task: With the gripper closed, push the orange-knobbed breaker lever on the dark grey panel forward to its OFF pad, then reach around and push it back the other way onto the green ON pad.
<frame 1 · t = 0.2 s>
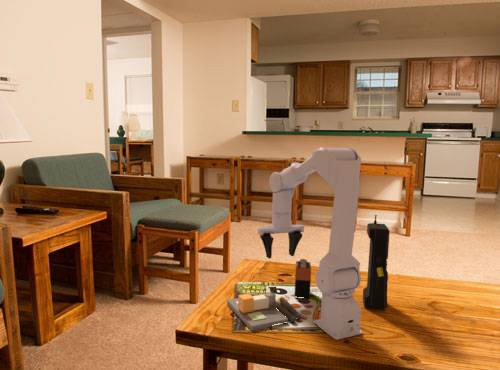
hand: (280, 256, 120), 10 cm above the table, tool pointing down, fingers open, 7 cm apart
near cord: (279, 310, 105), on the table
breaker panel: (256, 313, 103), on the table
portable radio: (374, 306, 110), on the table
battery: (302, 295, 116), on the table
dark grey rounded rod: (289, 310, 105), on the table
breaker lever: (258, 301, 103), point 3 cm above the table, hinge at 0.0°
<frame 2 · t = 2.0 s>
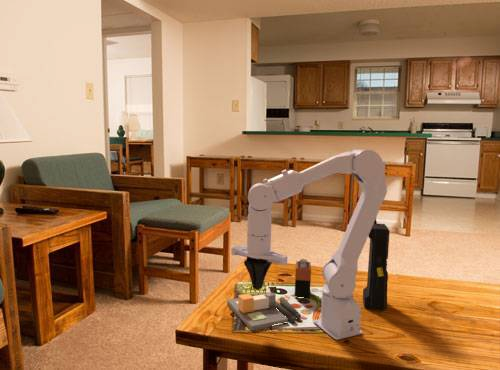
hand: (257, 288, 96), 9 cm above the table, tool pointing down, fingers closed
nothing on the table moved.
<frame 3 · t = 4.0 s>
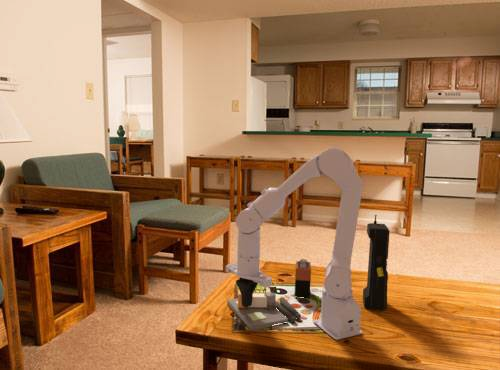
hand: (246, 305, 102), 3 cm above the table, tool pointing down, fingers closed, pressing on breaker lever
breaker lever: (256, 298, 105), point 3 cm above the table, hinge at -22.8°, touching gripper
everything else where it was.
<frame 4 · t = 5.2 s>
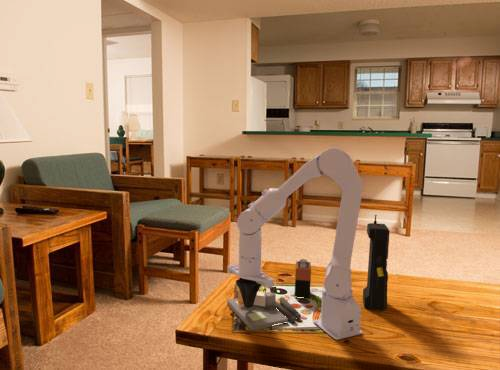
hand: (248, 306, 102), 2 cm above the table, tool pointing down, fingers closed
breaker lever: (257, 296, 106), point 3 cm above the table, hinge at -43.3°
everything else where it was.
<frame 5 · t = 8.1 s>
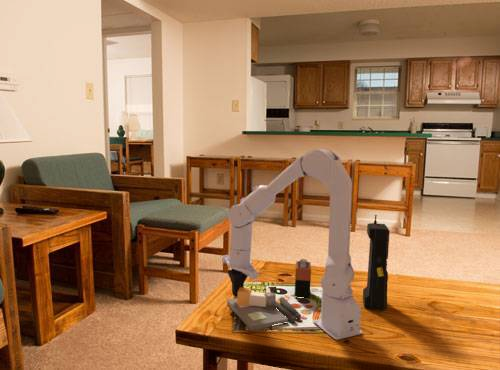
hand: (237, 295, 108), 3 cm above the table, tool pointing down, fingers closed, pressing on breaker lever
breaker lever: (256, 297, 105), point 3 cm above the table, hinge at -35.9°, touching gripper
everything else where it was.
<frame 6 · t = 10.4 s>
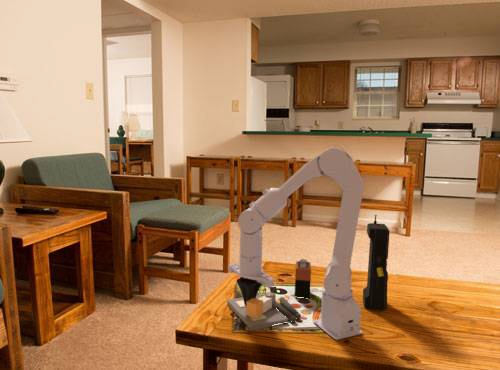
hand: (249, 305, 102), 2 cm above the table, tool pointing down, fingers closed
breaker lever: (262, 303, 102), point 3 cm above the table, hinge at 29.4°
everything else where it was.
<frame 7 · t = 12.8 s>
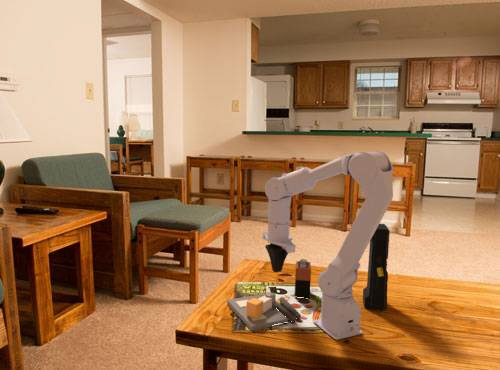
hand: (277, 271, 107), 10 cm above the table, tool pointing down, fingers closed
nothing on the table moved.
at the end: breaker lever at +30° (first picture: +0°) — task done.
